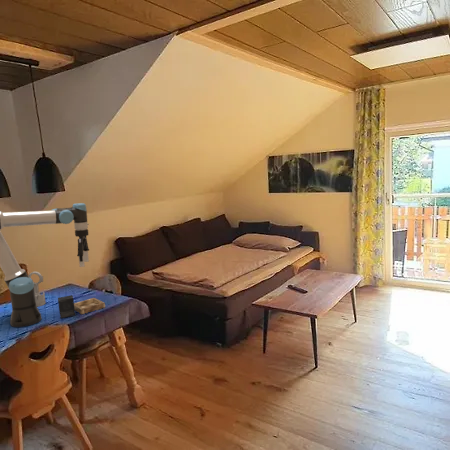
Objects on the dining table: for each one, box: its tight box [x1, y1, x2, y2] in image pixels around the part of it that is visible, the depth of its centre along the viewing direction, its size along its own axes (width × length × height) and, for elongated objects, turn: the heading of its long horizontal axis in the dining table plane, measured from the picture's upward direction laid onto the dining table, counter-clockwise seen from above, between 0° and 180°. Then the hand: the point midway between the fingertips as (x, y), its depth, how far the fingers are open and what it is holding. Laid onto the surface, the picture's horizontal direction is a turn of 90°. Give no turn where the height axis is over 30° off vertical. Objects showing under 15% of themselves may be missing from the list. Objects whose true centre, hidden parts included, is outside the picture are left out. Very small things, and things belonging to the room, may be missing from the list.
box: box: [57, 294, 76, 319], centre depth 223 cm, size 8×6×11 cm
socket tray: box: [74, 297, 106, 315], centre depth 234 cm, size 14×14×3 cm
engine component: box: [28, 271, 47, 308], centre depth 245 cm, size 11×20×10 cm
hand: (84, 264), depth 243 cm, fingers open, 13 cm apart
